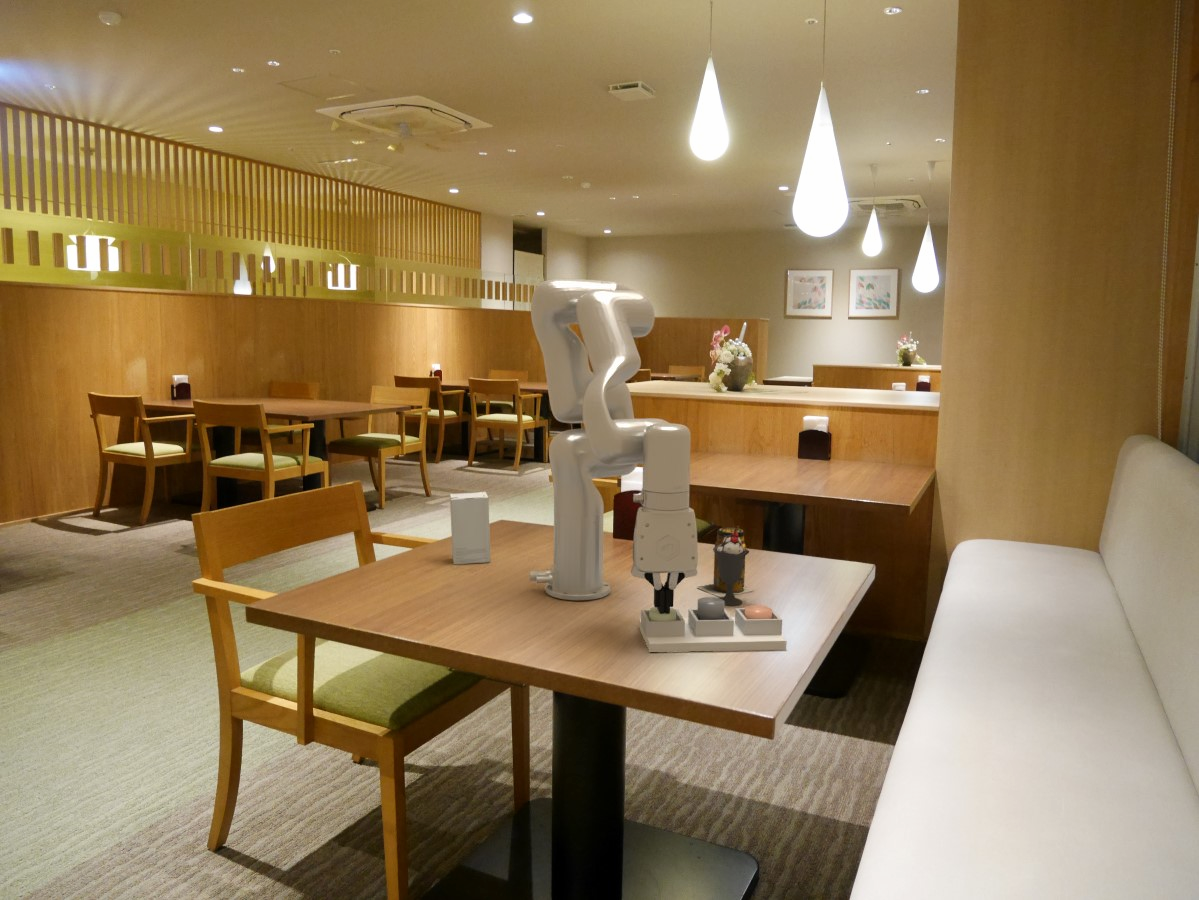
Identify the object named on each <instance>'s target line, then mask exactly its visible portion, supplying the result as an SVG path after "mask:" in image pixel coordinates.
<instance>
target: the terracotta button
mask: <svg viewBox="0 0 1199 900" xmlns="http://www.w3.org/2000/svg"><path fill="white" fill-rule="evenodd" d="M744 608H745V617H746V619H772V609H773V608H772V607H769V606H766V605H761V604H753V605H752V604H751V605H747V606H745V607H744ZM771 608H772V609H771Z"/></svg>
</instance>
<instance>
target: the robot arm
mask: <svg viewBox="0 0 1199 900" xmlns="http://www.w3.org/2000/svg"><path fill="white" fill-rule="evenodd" d="M531 297H532V298H531V302H530V316H531V324H532V328H533V331H534V334H535V337H536V339H537V342H538V343H539V347H540V350H541V352H542V353H541V354H542V356H543V363H544V369H545V377H546V385H547V392H548V397H549V405H550V409H551V412H552V415H553V417H554V419H556V421H558V422H560V423H564V424H565V423H566V424H583V425H584V428H573V429H567V430H564V431H561V432H559V433H557V434H556V435H554V436H553V438H552V439H551V442H550V444H549V448H548V456H549V457H548V458H549V464H550V470H551V475H552V483H553V485H552V486H553V564H551V568H550V569H549V568H547V569H546V570H543V571H542V570H541V571H540V570H530V571H529V572H530V573H529V581H530V582H535V581H536V584H543V583H546V585H545V593H546V594H547V595H548V596H551V597H553V598H556V599H561V600H565V601H566V600H567V601H591V600H597V599H602V598H605V597H606V596H608V595H609V594H610V593H611V592H612V590H611V584H610V583H609V582H608V581H605V580H604V577H603V576H604V575H603V574H604V573H603V571H604V563H603V562H604V509H605V508H604V506H605V505H604V500H603V497H602V495H601V493H600V491H599V490H598V488H597V487H596V486H595V485H596V484H594V481H593V480H594V479H601V478H610V477H611V478H614V477H621V476H627V475H629V474H631V473H633V472H634V470H635V469H636V468H637V465H638V464H639V465H641V464H642V488H641V490H640V492H638V493H633V496H632V499H633V502H634V503H639V504H641V506H640V507H638V509H637V512H636V518H635V524H634V532H633V542H632V560H633V561H632V562H633V564H632V566H631V570H630V573H631V575H632V576H633V577H634V578H638V579H643V580H646V581H647V582H648V583H649V584H650V585H651V586H652V587H653V607H657V609H658V611H659V613H660V614H663V613H664V612H665V613H666V614H670V608H673V607H674V594H675V590H676V588H677V586H678V585H679V584H680V583H681V582H682V581H683V580H684V579H688V578H691V577H696V576H697V575H698V569H697V567H698V563H699V560H698V559H699V557H698V555H699V552H698V549H699V548H698V529H697V522H696V513H695V509H693V508H691V507H690V478H691V477H690V474H691V473H690V472H691V443H692V442H691V439H692V438H691V437H692V436H691V431H690V429H689V427H687V425H684V424H680V423H672V422H668V421H667V420H664V419H661V418H653V417H652V418H651V417H650V418H649V417H648V418H635V416H634V415H635V414H634V413H635V412H634V407H633V402H632V396H631V392H630V389H629V387H628V385H627V383H626V382H627V381H628V380H630V379H631V378H632V377H634V376H635V375H636V374H637V373H638V372H639V370H640V369H641V367H642V365H641V364H642V360H641V356H640V353H639V351H638V348H637V345H636V342H635V339H634V338H643V337H646V336H647V335H649V334H650V333H651V331H652V330H653V328H654V325H655V319H656V317H655V316H656V315H655V311H654V310H655V309H654V306H653V304H652V301H651V300H650V298H649V297H648V296H647V295H646V294H645V293H644V292H642V291H641V290H638V289H635V288H633V287H631V286H627V285H625V284H624V283H620V282H617V281H614V280H602V279H601V280H600V279H581V278H553V279H548V280H544V281H542V282H541V283H540V284H538V285H537V286H536V288H535V289H534V291H533V293H532V296H531ZM570 325H578V327H579V331H580V333H581V334H580V335H581V337H582V340H583V341H582V340H581V338H580V337H579V336H578V334H576V332H575V331H574V330H573V329H571V327H570ZM589 362H590V363H589ZM590 365H591V367H592V371H591V367H590ZM663 573H664V574H666V580H665V582H664V584H663V583H662V579H661V574H663Z"/></svg>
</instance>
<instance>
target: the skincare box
mask: <svg viewBox="0 0 1199 900" xmlns="http://www.w3.org/2000/svg"><path fill="white" fill-rule="evenodd" d="M488 495H489V494H487V492H486V491H478V492H464V493H449V505H450V506H449V507H450V509H449V510H450V530H451V550H452V551H451V552H452V561H453V565H454V566H455V565H465V564H467V565H468V564H479V563H480V564H481V563H490V562H491V561H492V560H491V543H490V542H491V540H490V539H491V534H490V533H491V532H490V531H491V530H490V507H489V505H490V504H489V501H490V498H489V496H488Z"/></svg>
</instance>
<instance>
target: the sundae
mask: <svg viewBox="0 0 1199 900" xmlns="http://www.w3.org/2000/svg"><path fill="white" fill-rule="evenodd" d="M735 528H736V529H735V531H736V530H737V529H740V526H739V525H737V526H736V527H735ZM735 531H734V533H732V535H728V536H727V535H725V536H724V539H723V542H722V544H721V545H720V546H716V547H715V546H714V547H713V548H712V551H713V553H714V554H715V553H716V554H717V559H718V569H719V575H720V578H721V579H722V581H724V582H725V583H726V585H727V592H726V595H725V596H724V597H718V598H719V599H722V600H724V601H725V606H726V607H738V606H741V605H742V604H743V600H742V599H741V598H738V597H736V596H735V594H733V585H734V584H735V583H736V582H738V581H739V579H740V578H741V575H742V571H743V564H744V559H745V560H746V556H747V555H748V554H749V553H750V550H748V549H747V547H746V548H744V547H743V545H742V543H741V540H740V538H739V537H738V533H736V532H735Z"/></svg>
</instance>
